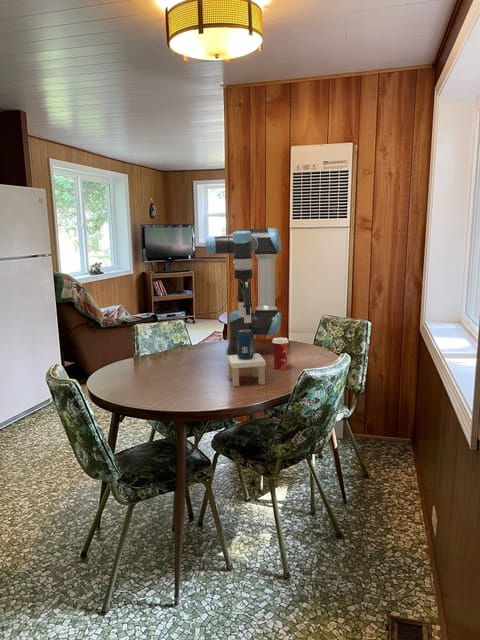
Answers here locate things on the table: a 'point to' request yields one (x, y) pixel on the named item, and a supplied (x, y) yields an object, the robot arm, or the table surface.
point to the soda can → (245, 344)
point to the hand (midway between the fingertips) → (244, 319)
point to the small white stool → (237, 363)
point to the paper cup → (280, 353)
